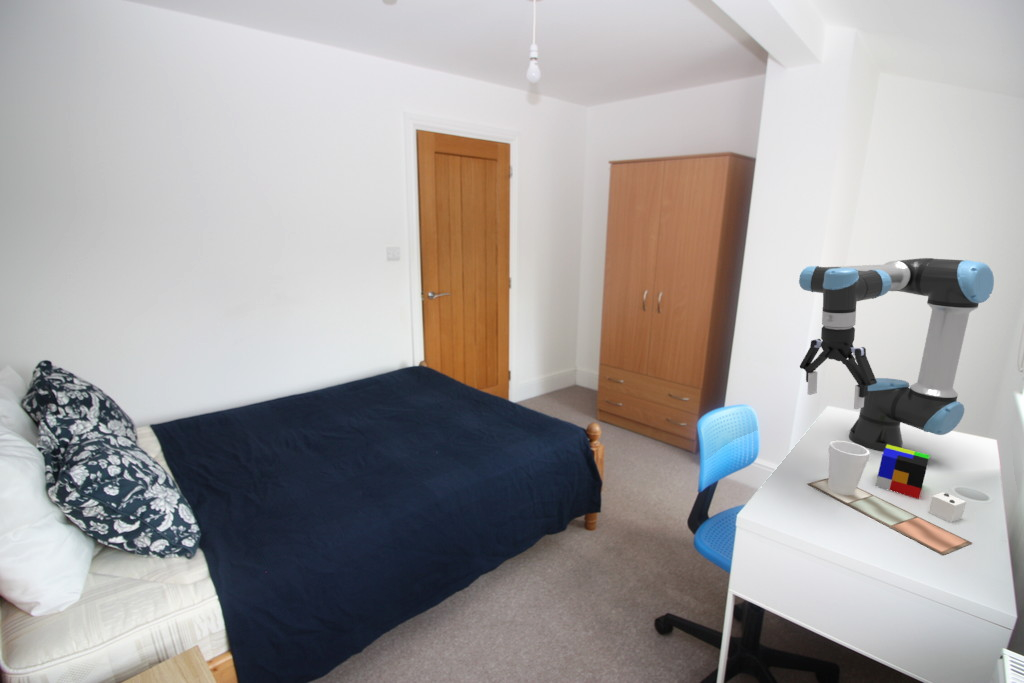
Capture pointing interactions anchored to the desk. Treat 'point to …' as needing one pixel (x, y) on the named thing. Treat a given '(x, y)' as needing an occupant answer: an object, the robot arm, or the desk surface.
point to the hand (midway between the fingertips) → (834, 400)
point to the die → (947, 507)
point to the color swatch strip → (898, 519)
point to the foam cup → (846, 466)
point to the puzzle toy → (902, 471)
